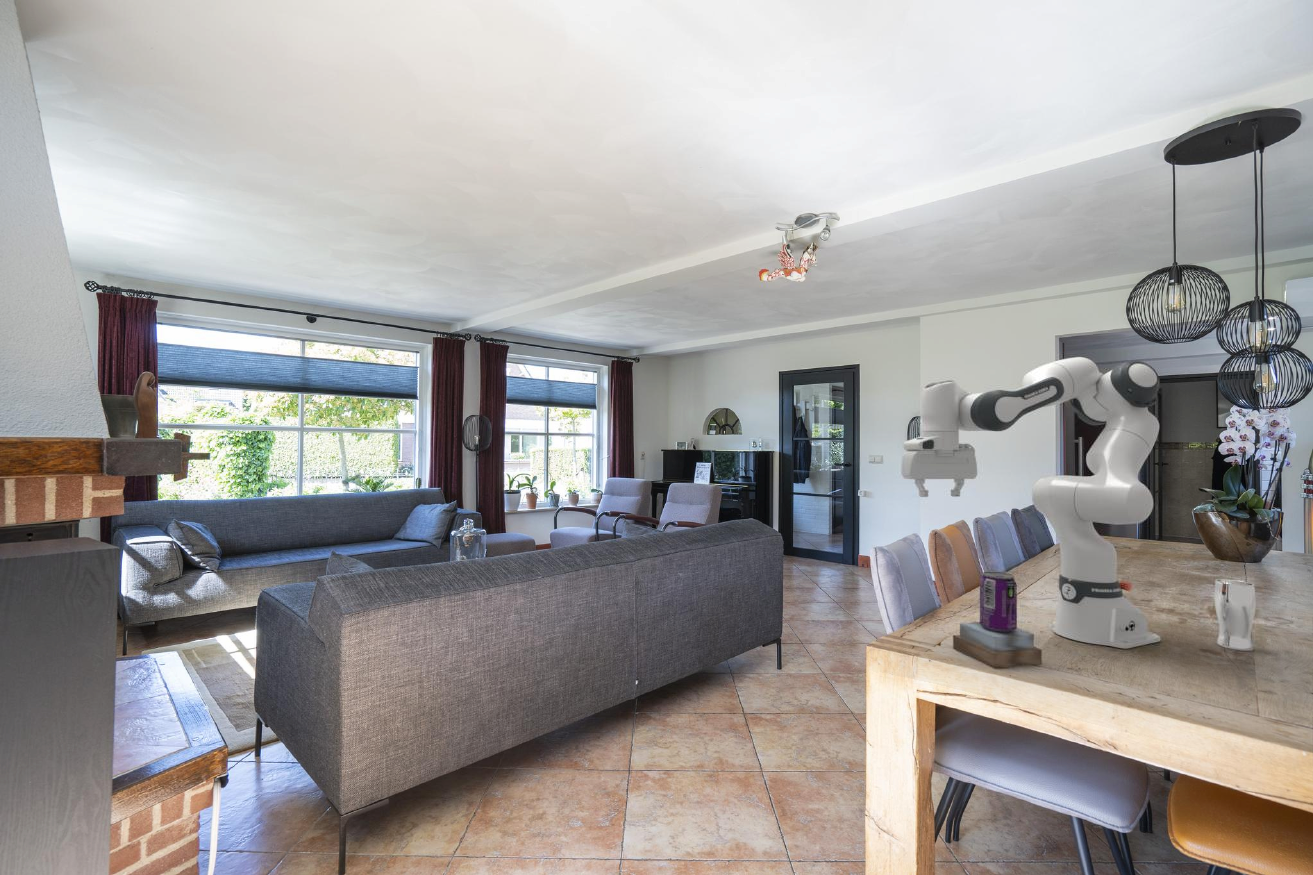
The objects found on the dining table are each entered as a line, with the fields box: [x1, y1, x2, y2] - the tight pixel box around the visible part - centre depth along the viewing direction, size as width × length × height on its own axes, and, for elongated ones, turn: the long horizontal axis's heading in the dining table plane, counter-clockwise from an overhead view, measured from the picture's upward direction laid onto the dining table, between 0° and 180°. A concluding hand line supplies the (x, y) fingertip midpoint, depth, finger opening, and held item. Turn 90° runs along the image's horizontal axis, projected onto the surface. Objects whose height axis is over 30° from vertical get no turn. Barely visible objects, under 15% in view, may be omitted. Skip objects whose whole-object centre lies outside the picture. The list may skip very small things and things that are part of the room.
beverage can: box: [979, 571, 1018, 632], centre depth 131 cm, size 7×7×12 cm
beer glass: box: [1213, 578, 1257, 652], centre depth 138 cm, size 7×7×15 cm
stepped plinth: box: [952, 621, 1043, 669], centre depth 131 cm, size 12×12×6 cm
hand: (939, 496), depth 153 cm, fingers open, 8 cm apart
